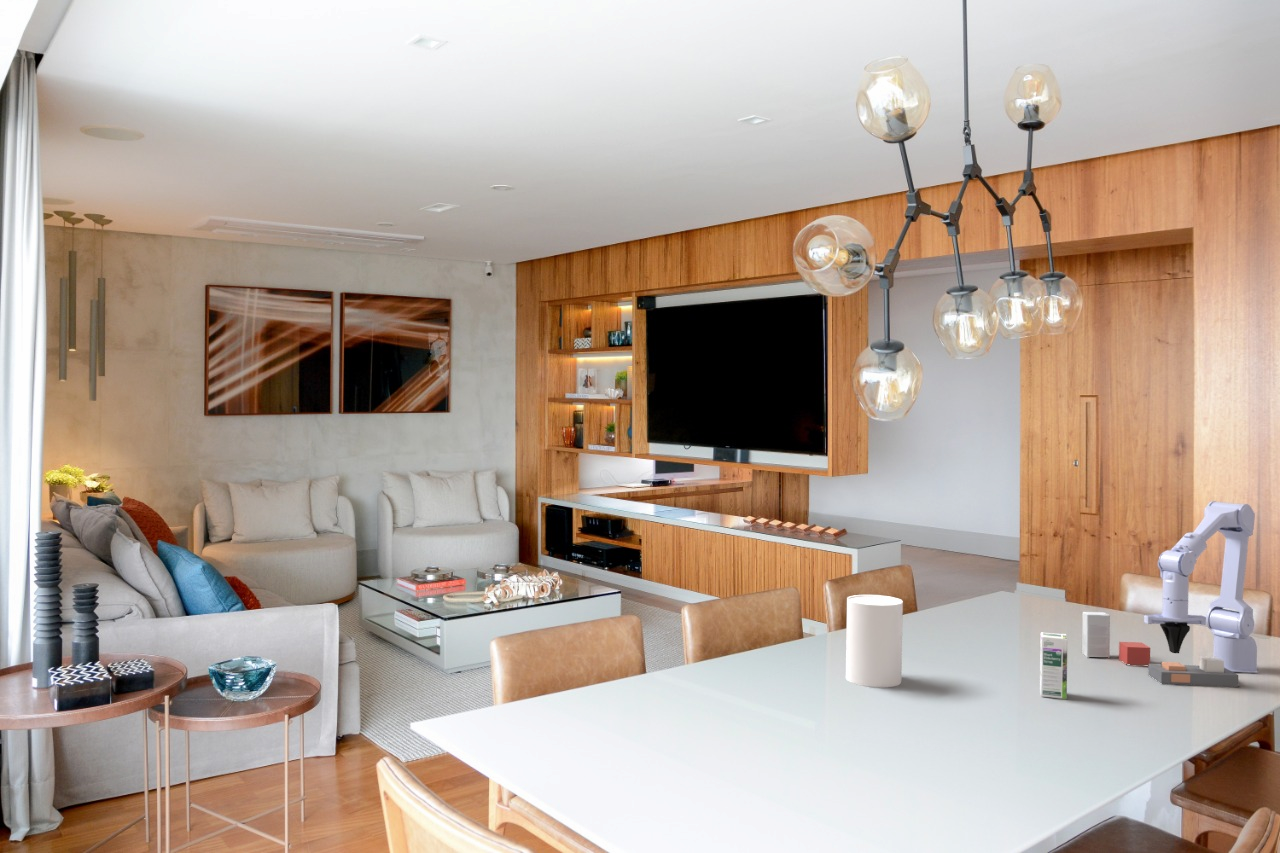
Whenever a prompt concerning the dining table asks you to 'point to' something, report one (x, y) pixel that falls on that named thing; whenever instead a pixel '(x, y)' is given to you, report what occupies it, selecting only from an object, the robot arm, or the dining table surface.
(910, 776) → the dining table surface
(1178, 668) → the block
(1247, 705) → the dining table surface
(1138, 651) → the cap
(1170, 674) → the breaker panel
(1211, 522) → the robot arm
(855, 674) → the canister
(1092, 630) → the skincare box
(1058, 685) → the syrup box
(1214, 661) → the block
